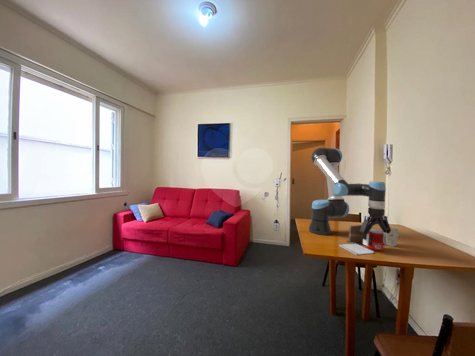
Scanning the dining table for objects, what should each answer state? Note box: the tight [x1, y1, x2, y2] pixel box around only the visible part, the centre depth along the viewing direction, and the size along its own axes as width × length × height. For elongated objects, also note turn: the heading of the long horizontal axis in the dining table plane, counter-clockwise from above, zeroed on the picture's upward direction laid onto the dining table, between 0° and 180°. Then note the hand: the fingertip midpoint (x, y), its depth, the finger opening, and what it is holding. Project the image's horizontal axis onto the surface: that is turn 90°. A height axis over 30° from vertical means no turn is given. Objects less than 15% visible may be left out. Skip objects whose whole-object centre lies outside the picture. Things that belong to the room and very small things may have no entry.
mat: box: [338, 243, 376, 256], centre depth 103 cm, size 12×12×1 cm
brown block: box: [345, 224, 363, 244], centre depth 114 cm, size 5×14×11 cm, turn 103°
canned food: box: [365, 227, 384, 252], centre depth 105 cm, size 8×8×11 cm
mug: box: [384, 226, 400, 247], centre depth 112 cm, size 8×13×10 cm, turn 78°
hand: (374, 244), depth 104 cm, fingers open, 13 cm apart
